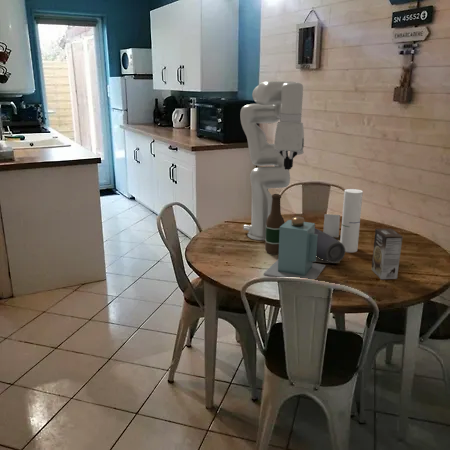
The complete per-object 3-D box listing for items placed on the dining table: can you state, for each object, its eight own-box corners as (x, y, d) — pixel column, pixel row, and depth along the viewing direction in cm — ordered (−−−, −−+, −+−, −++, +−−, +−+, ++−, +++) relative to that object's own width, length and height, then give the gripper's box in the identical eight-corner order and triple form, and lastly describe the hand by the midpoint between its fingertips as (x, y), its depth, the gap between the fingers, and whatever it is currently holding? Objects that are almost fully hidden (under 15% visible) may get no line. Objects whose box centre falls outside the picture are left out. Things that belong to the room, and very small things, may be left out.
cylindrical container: (357, 252, 188) (363, 193, 181) (340, 251, 190) (344, 192, 182) (356, 247, 195) (362, 189, 188) (339, 245, 196) (344, 188, 189)
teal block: (263, 274, 166) (265, 228, 161) (280, 258, 182) (281, 215, 177) (312, 284, 159) (315, 235, 154) (325, 266, 174) (328, 221, 169)
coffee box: (370, 269, 171) (374, 228, 167) (387, 269, 172) (391, 228, 167) (380, 279, 163) (385, 236, 158) (398, 279, 163) (403, 235, 158)
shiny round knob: (283, 261, 167) (285, 219, 163) (289, 255, 174) (291, 214, 169) (302, 265, 164) (304, 222, 160) (308, 258, 171) (310, 216, 166)
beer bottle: (271, 255, 185) (273, 197, 178) (261, 249, 191) (262, 193, 184) (287, 252, 188) (290, 195, 181) (276, 247, 195) (279, 191, 188)
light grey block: (338, 237, 207) (340, 216, 205) (323, 236, 209) (324, 215, 206) (338, 234, 211) (339, 213, 208) (323, 234, 212) (324, 213, 209)
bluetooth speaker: (295, 248, 194) (296, 225, 191) (314, 245, 197) (316, 223, 194) (324, 267, 173) (326, 242, 170) (345, 264, 176) (347, 239, 173)
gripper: (267, 118, 165) (265, 168, 171) (308, 120, 159) (304, 172, 165) (274, 116, 171) (272, 165, 177) (313, 118, 165) (310, 169, 171)
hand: (288, 168), depth 171 cm, fingers closed
